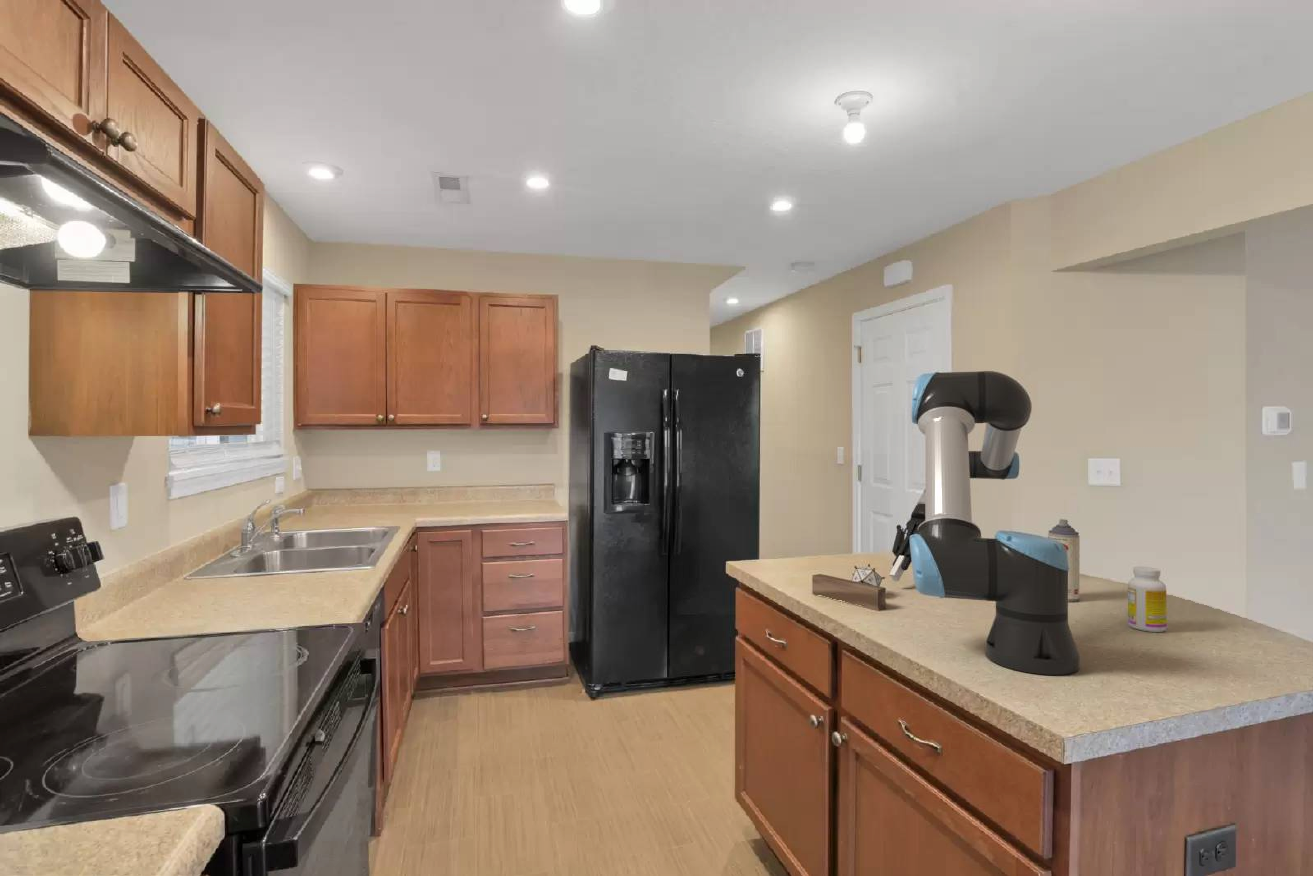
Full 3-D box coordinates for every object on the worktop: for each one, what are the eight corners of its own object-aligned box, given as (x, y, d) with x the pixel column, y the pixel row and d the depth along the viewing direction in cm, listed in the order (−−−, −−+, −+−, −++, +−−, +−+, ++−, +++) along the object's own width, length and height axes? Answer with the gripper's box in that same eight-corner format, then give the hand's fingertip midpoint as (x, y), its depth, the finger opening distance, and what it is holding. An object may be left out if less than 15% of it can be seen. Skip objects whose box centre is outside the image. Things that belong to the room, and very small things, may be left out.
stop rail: (877, 610, 158) (877, 589, 158) (812, 594, 174) (812, 575, 174) (885, 608, 160) (885, 587, 160) (820, 592, 176) (820, 573, 176)
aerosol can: (1041, 597, 170) (1041, 518, 170) (1060, 594, 173) (1060, 517, 173) (1066, 603, 164) (1067, 522, 164) (1085, 600, 167) (1085, 520, 166)
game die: (874, 612, 170) (892, 586, 165) (842, 600, 171) (859, 573, 165) (872, 588, 178) (889, 562, 173) (842, 576, 178) (858, 550, 173)
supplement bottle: (1172, 630, 142) (1172, 569, 142) (1157, 635, 138) (1157, 573, 138) (1136, 622, 148) (1136, 564, 148) (1121, 627, 144) (1121, 567, 144)
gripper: (956, 522, 184) (921, 591, 175) (913, 517, 195) (879, 582, 185) (945, 504, 181) (909, 573, 171) (903, 500, 192) (867, 565, 182)
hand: (893, 577), depth 178 cm, fingers closed
